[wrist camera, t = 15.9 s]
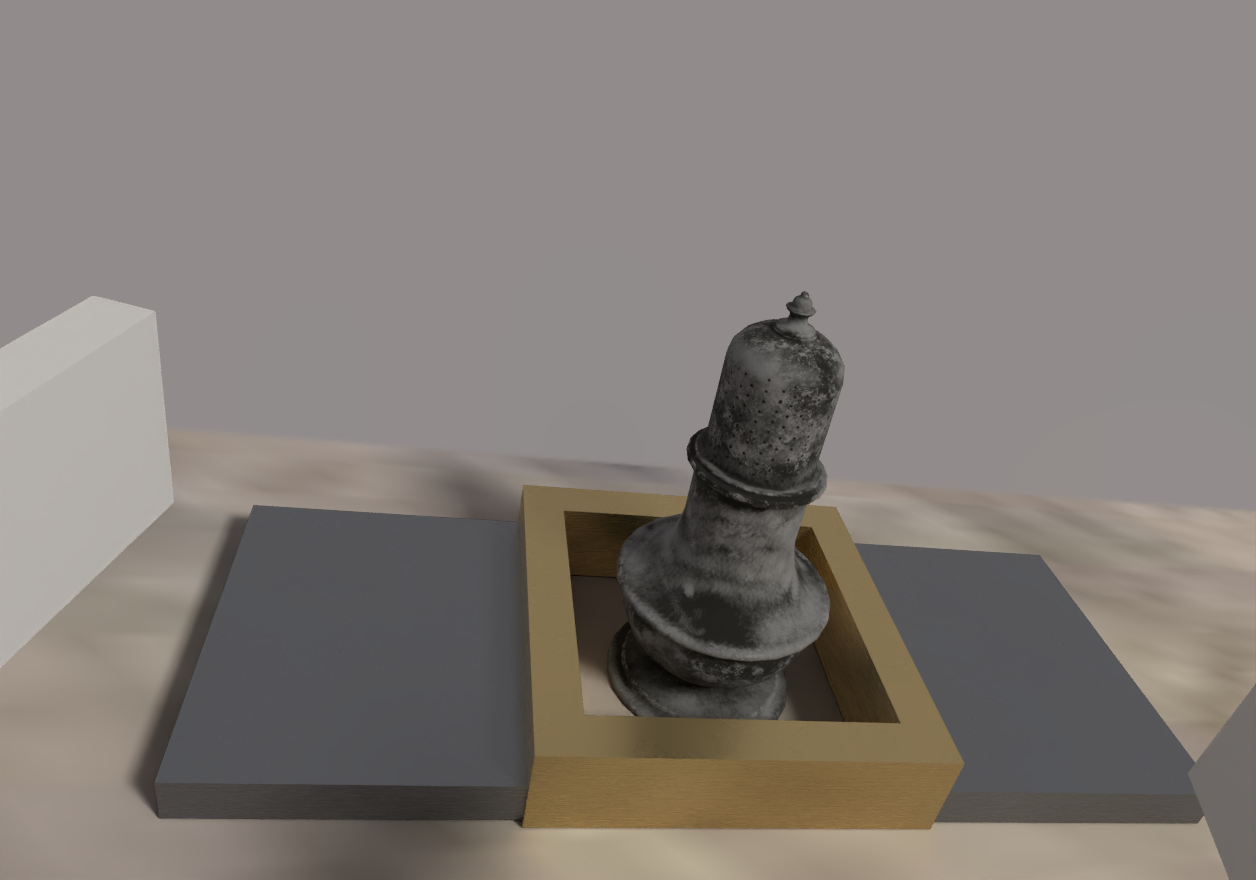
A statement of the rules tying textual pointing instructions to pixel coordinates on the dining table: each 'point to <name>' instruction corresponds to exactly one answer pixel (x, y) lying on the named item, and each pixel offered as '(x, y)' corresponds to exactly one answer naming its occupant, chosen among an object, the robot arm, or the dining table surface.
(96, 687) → the dining table surface
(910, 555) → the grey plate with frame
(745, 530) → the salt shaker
